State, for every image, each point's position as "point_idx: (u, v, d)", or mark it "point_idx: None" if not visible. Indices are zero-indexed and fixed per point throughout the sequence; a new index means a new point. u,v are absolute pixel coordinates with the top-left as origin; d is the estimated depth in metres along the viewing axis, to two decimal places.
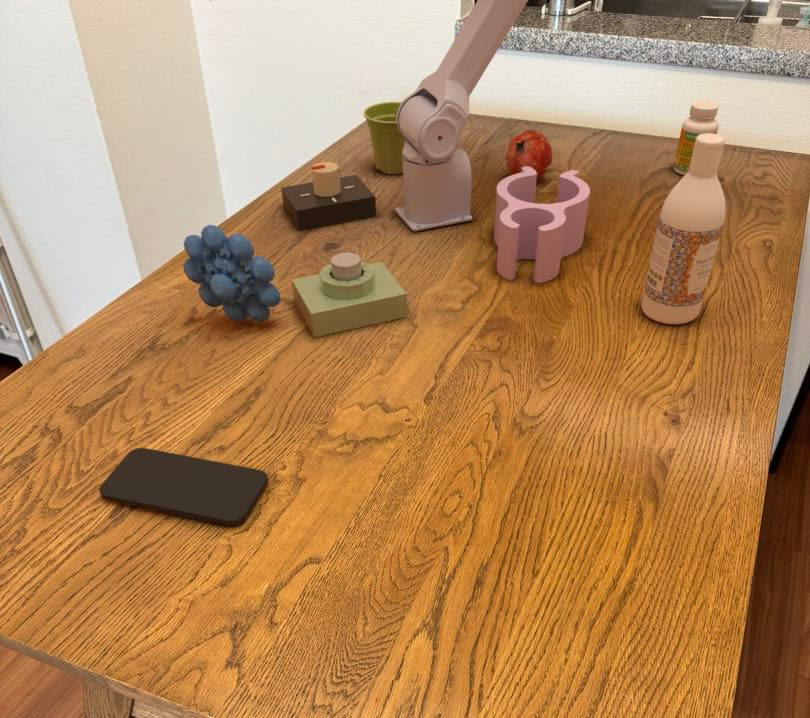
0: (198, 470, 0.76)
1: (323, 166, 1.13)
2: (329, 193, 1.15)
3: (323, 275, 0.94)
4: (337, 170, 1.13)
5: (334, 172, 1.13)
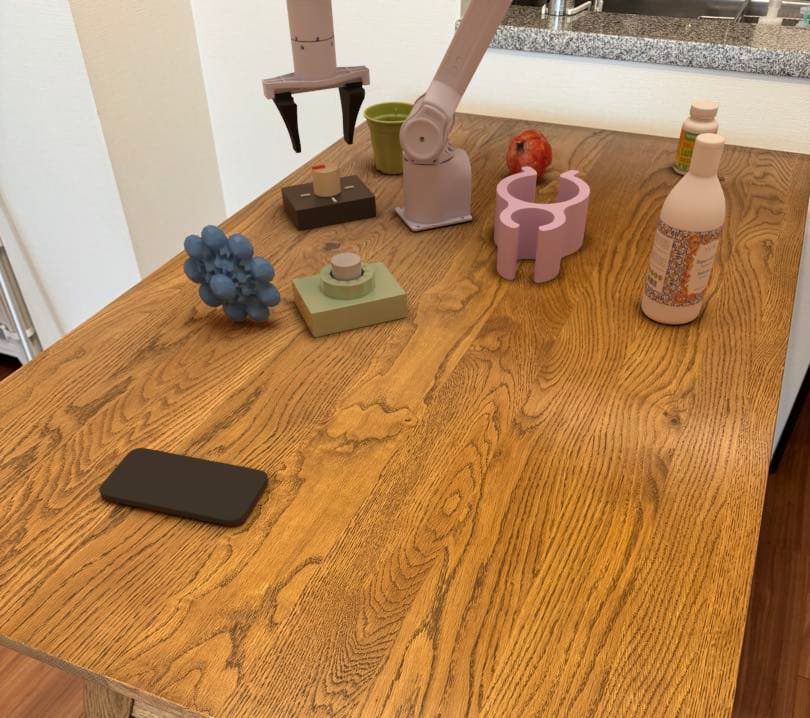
0: (198, 470, 0.76)
1: (323, 166, 1.13)
2: (329, 193, 1.15)
3: (323, 275, 0.94)
4: (337, 170, 1.13)
5: (334, 172, 1.13)
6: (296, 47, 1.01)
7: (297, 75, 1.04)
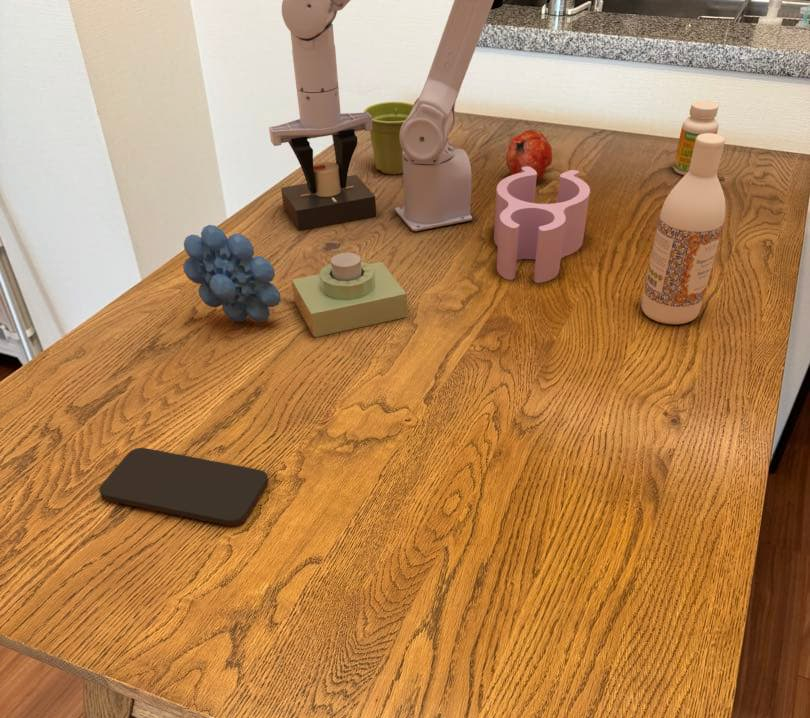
0: (198, 470, 0.76)
1: (323, 166, 1.13)
2: (329, 193, 1.15)
3: (323, 275, 0.94)
4: (337, 170, 1.13)
5: (334, 172, 1.13)
6: (302, 97, 1.05)
7: (302, 123, 1.08)
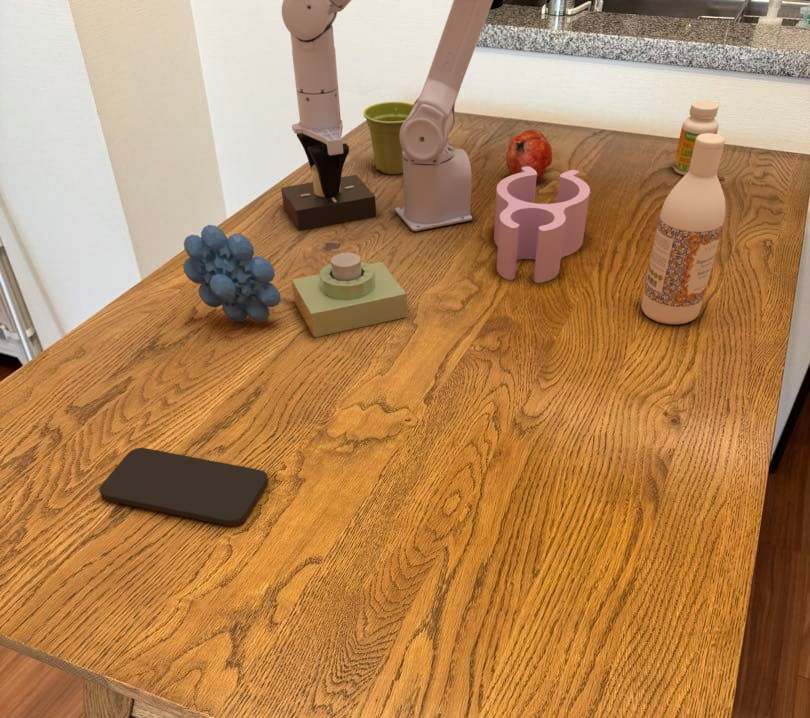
0: (198, 470, 0.76)
1: None
2: None
3: (323, 275, 0.94)
4: None
5: None
6: (331, 98, 1.05)
7: (330, 125, 1.07)
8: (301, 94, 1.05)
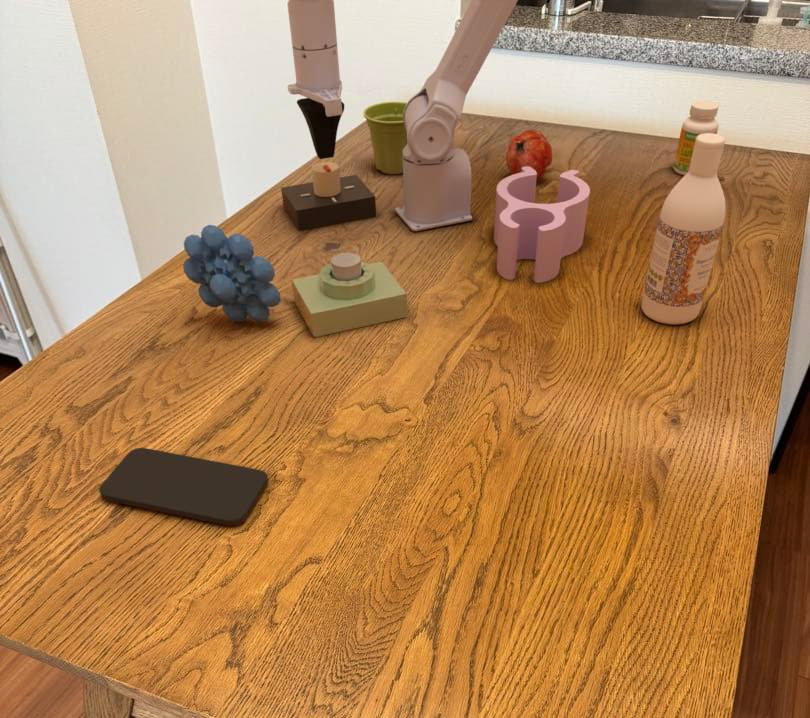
0: (198, 470, 0.76)
1: (327, 166, 1.13)
2: None
3: (323, 275, 0.94)
4: None
5: None
6: (329, 55, 0.98)
7: (329, 85, 1.00)
8: (297, 51, 0.98)
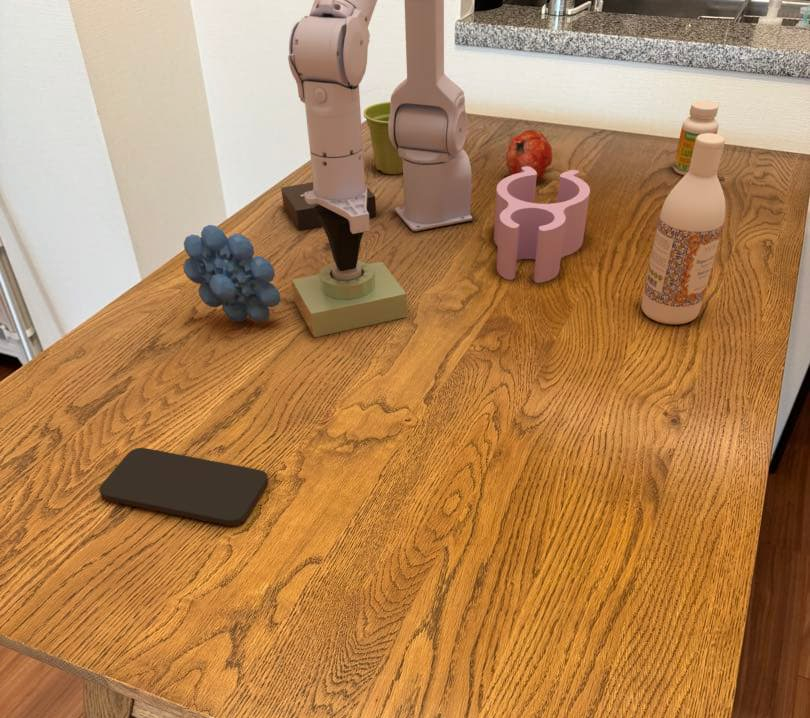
0: (198, 470, 0.76)
1: None
2: None
3: (323, 275, 0.94)
4: None
5: None
6: (354, 161, 0.83)
7: (353, 194, 0.85)
8: (316, 157, 0.83)
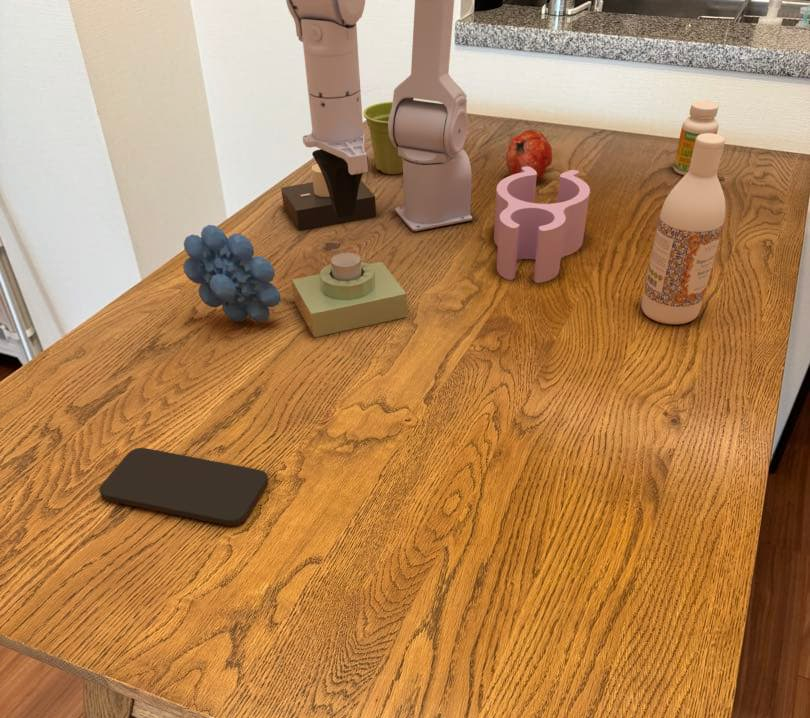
0: (198, 470, 0.76)
1: None
2: None
3: (323, 275, 0.94)
4: None
5: None
6: (352, 102, 0.84)
7: (351, 136, 0.86)
8: (315, 98, 0.84)
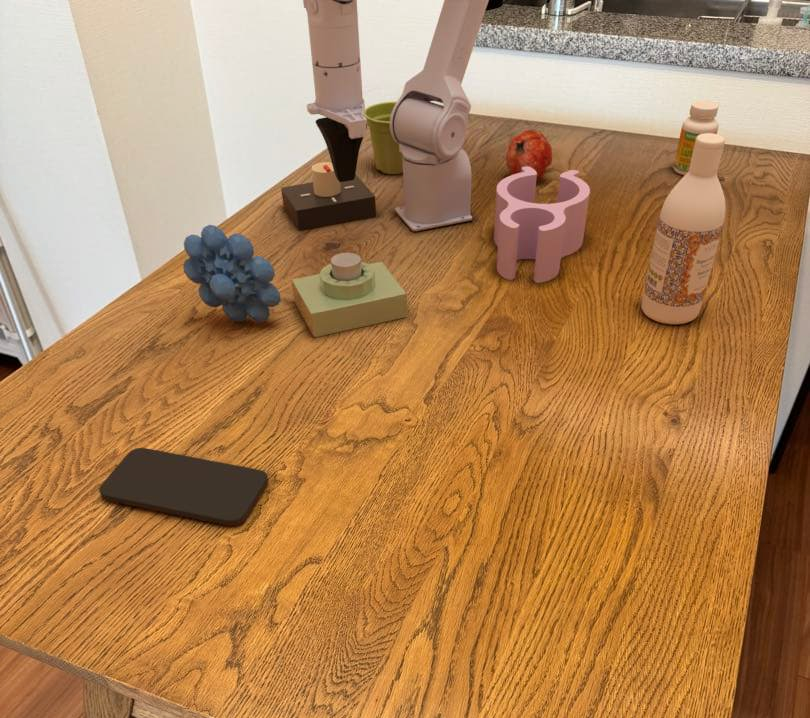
0: (198, 470, 0.76)
1: (327, 166, 1.13)
2: None
3: (323, 275, 0.94)
4: None
5: None
6: (352, 72, 0.91)
7: (351, 104, 0.93)
8: (318, 68, 0.91)
